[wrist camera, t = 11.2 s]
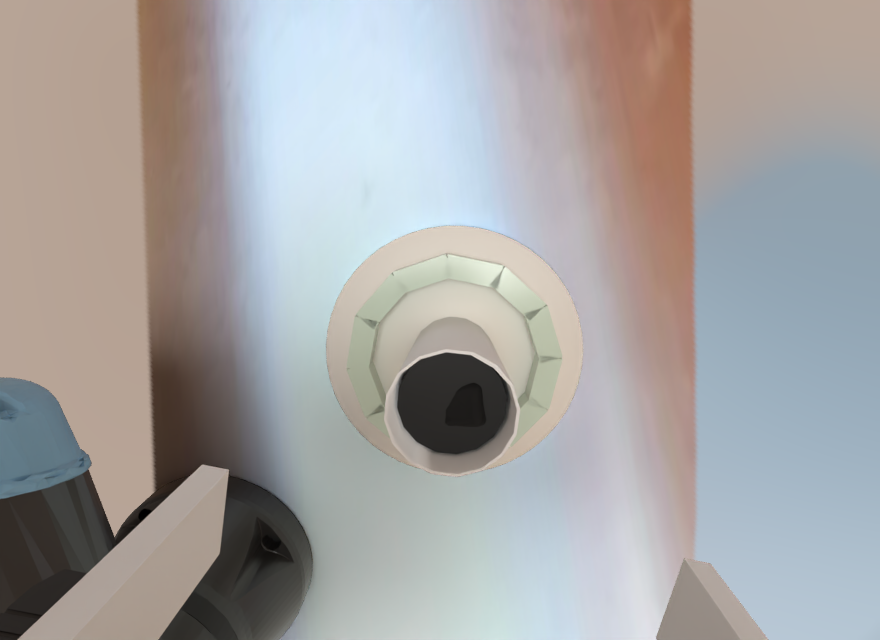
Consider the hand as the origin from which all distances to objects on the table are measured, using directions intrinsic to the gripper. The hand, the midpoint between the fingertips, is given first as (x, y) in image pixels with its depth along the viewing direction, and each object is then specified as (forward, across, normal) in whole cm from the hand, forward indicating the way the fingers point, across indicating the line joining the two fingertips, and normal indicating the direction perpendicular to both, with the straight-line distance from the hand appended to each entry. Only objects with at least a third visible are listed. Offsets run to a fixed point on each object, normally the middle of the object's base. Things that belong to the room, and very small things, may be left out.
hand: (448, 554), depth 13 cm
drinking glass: (+20, 0, 0) cm, 20 cm away
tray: (+21, 0, 0) cm, 21 cm away
